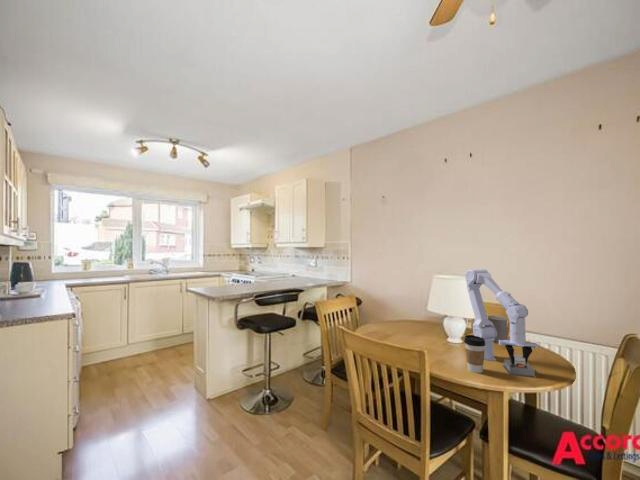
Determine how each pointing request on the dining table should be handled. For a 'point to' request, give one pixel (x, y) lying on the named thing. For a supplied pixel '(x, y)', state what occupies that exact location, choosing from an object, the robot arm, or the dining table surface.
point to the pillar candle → (499, 327)
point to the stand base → (519, 369)
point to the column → (519, 360)
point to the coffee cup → (474, 353)
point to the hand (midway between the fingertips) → (518, 362)
